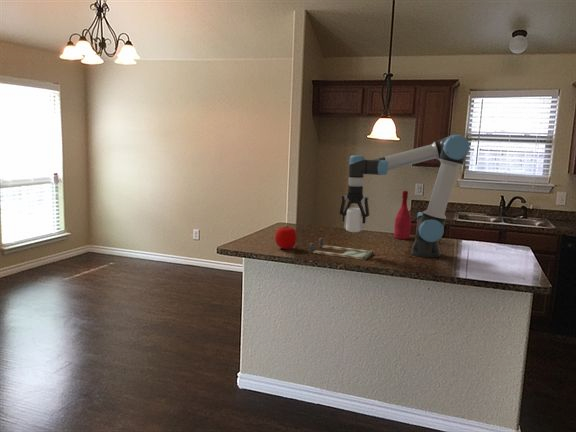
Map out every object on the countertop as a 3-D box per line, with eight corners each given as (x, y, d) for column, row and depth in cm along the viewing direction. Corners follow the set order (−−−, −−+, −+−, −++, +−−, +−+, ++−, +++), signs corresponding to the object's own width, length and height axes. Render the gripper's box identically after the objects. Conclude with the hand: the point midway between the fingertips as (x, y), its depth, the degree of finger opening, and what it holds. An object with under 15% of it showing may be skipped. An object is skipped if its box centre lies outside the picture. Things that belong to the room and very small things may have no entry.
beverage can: (360, 233, 241) (362, 209, 239) (345, 232, 243) (346, 209, 241) (361, 230, 249) (362, 207, 247) (346, 229, 250) (347, 207, 249)
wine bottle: (412, 238, 296) (415, 190, 291) (406, 240, 288) (410, 192, 283) (397, 236, 301) (400, 189, 296) (391, 238, 293) (394, 190, 288)
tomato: (300, 249, 256) (301, 226, 254) (286, 252, 248) (287, 228, 246) (284, 245, 265) (285, 223, 262) (269, 248, 256) (270, 225, 254)
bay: (372, 253, 252) (373, 244, 251) (365, 260, 237) (365, 250, 236) (319, 246, 264) (320, 237, 263) (309, 252, 248) (309, 243, 247)
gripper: (377, 186, 241) (375, 229, 245) (338, 183, 249) (336, 225, 253) (373, 187, 234) (371, 231, 238) (334, 184, 243) (332, 228, 246)
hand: (353, 228), depth 246 cm, fingers closed on beverage can, 8 cm apart
